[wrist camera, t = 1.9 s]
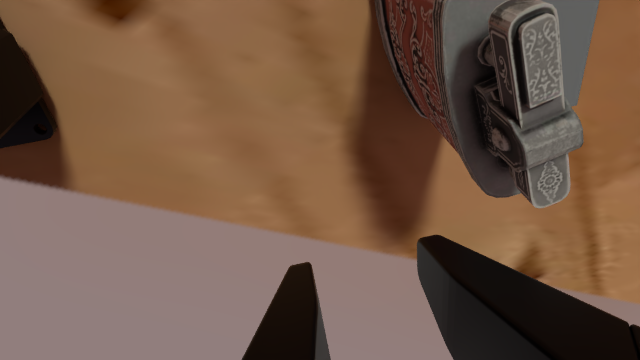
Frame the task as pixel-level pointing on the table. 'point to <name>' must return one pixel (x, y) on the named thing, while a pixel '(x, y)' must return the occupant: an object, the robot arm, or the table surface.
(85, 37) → the table surface
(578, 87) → the pad
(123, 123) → the table surface
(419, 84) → the lighter
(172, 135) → the table surface
